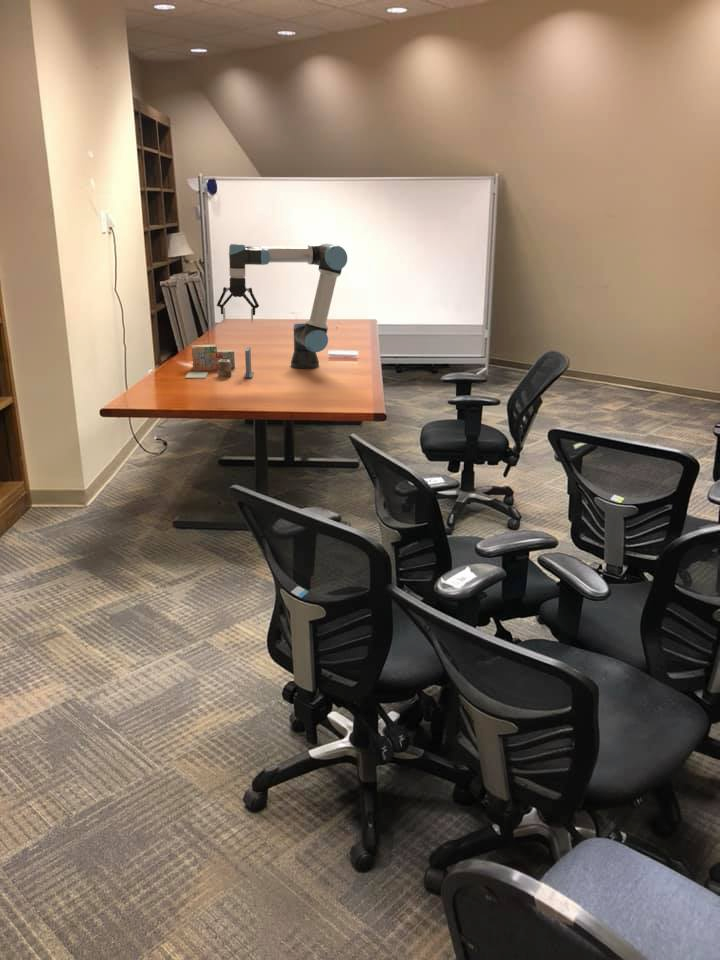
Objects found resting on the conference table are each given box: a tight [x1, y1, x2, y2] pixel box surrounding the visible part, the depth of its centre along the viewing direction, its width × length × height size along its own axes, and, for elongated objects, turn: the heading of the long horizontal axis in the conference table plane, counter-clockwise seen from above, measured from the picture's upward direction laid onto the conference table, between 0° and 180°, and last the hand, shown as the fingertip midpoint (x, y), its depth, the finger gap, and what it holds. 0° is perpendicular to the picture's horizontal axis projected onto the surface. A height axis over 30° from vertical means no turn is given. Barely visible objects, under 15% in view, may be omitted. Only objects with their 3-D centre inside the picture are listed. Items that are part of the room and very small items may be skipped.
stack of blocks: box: [191, 343, 236, 371], centre depth 400 cm, size 21×6×12 cm, turn 104°
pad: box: [184, 371, 209, 380], centre depth 384 cm, size 10×12×1 cm
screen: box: [243, 345, 255, 380], centre depth 383 cm, size 4×12×14 cm, turn 3°
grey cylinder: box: [217, 360, 232, 378], centre depth 384 cm, size 6×6×8 cm
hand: (238, 321), depth 376 cm, fingers open, 13 cm apart
